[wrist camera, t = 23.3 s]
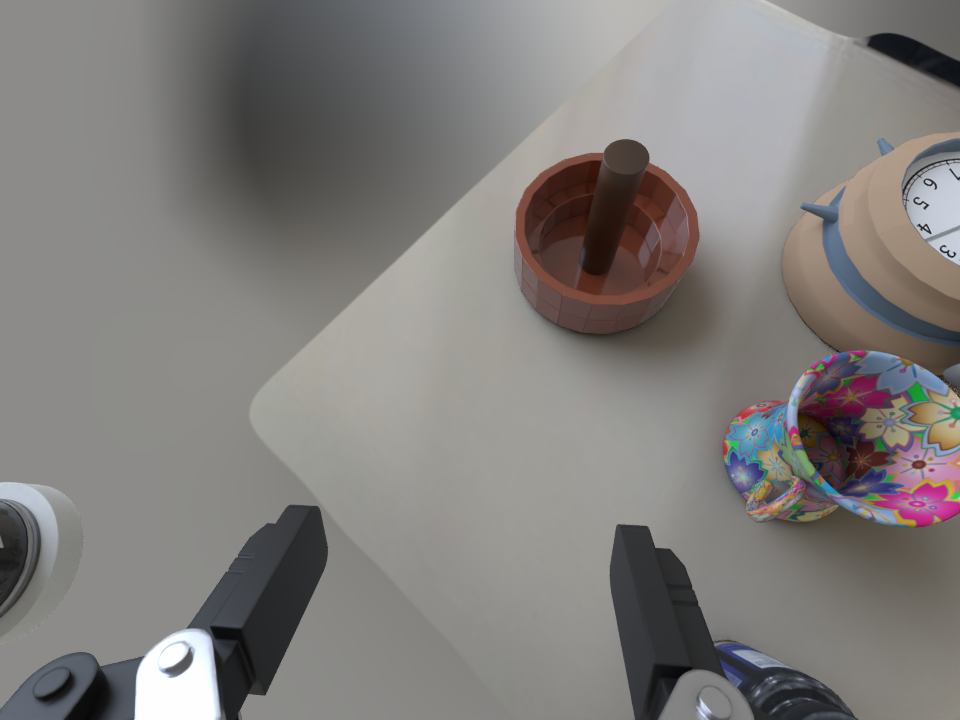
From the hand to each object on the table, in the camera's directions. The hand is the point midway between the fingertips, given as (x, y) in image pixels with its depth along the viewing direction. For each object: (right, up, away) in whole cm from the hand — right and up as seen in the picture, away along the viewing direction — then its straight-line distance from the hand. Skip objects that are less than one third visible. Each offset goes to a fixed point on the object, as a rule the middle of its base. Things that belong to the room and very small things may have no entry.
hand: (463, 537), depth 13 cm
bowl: (+10, +13, +28) cm, 33 cm away
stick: (+10, +13, +27) cm, 32 cm away
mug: (+21, -3, +22) cm, 31 cm away
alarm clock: (+36, +9, +25) cm, 45 cm away
